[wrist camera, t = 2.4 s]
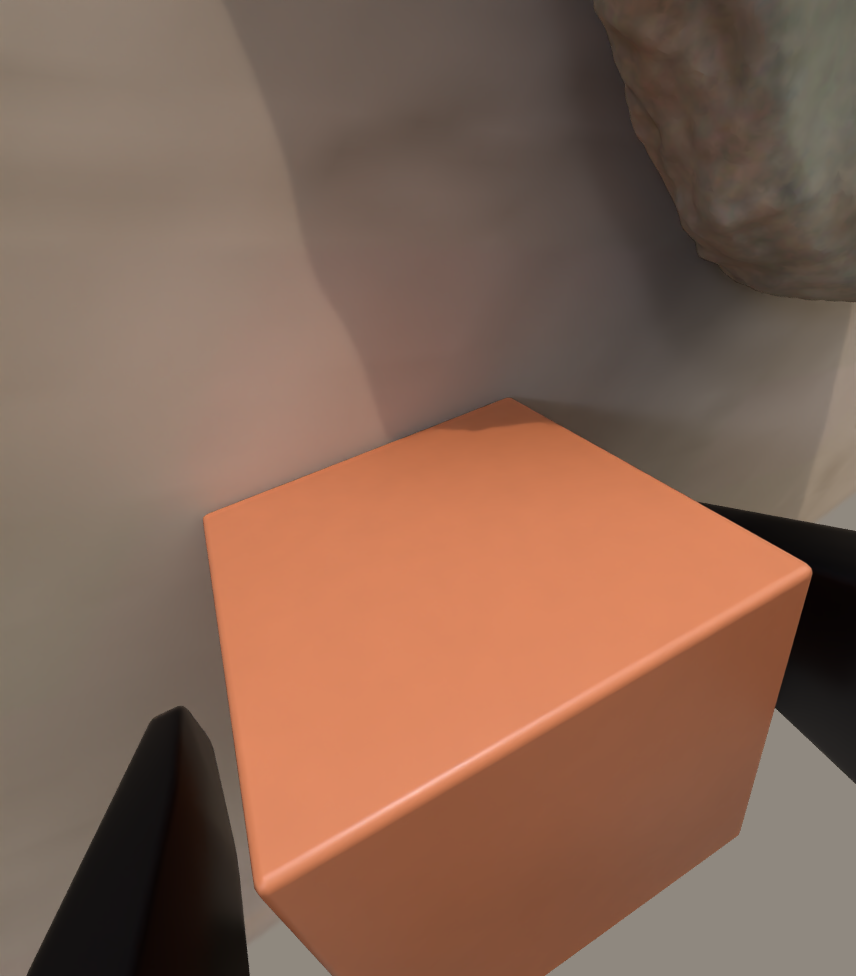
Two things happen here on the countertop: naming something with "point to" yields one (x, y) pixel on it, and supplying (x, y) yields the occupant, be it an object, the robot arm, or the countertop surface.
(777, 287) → the elongated rock
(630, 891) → the block
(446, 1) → the countertop surface
